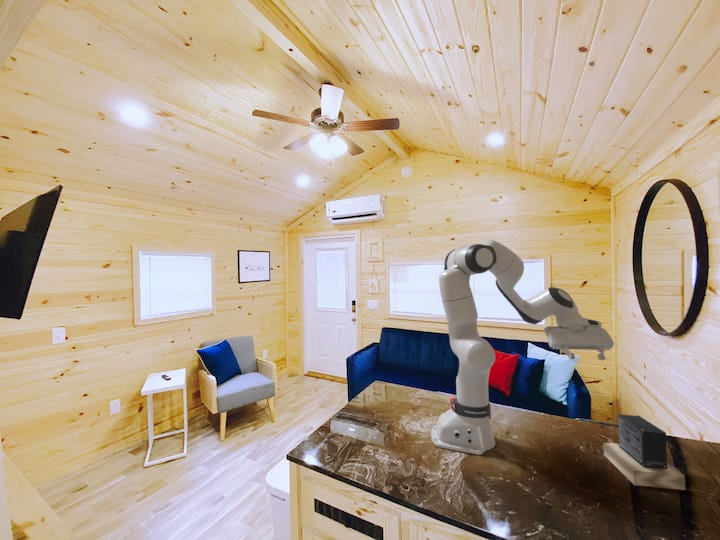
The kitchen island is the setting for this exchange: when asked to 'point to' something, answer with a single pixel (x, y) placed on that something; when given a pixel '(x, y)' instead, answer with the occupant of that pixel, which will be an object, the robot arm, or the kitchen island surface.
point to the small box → (642, 441)
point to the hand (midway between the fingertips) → (587, 359)
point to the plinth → (644, 470)
